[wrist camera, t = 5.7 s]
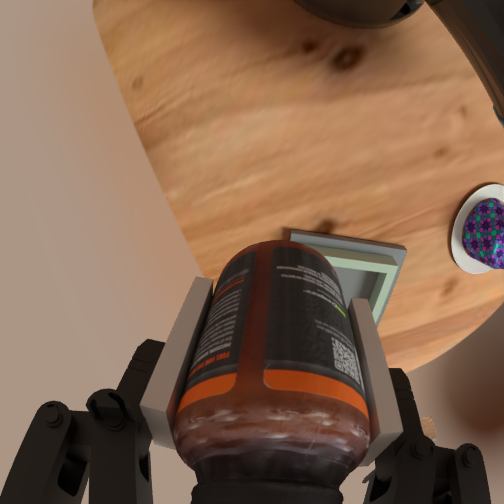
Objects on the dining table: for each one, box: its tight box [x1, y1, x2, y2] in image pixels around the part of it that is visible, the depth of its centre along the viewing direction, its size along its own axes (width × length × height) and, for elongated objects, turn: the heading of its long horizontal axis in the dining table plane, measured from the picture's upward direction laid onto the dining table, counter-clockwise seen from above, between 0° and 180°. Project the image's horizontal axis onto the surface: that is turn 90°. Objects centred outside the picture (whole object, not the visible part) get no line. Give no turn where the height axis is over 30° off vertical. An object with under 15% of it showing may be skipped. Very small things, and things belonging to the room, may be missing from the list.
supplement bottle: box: [173, 240, 371, 504], centre depth 10 cm, size 6×6×11 cm
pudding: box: [451, 184, 504, 274], centre depth 27 cm, size 12×12×5 cm
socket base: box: [289, 229, 407, 328], centre depth 29 cm, size 17×13×13 cm
